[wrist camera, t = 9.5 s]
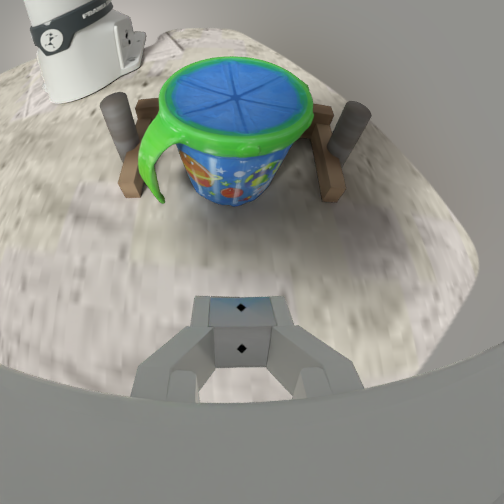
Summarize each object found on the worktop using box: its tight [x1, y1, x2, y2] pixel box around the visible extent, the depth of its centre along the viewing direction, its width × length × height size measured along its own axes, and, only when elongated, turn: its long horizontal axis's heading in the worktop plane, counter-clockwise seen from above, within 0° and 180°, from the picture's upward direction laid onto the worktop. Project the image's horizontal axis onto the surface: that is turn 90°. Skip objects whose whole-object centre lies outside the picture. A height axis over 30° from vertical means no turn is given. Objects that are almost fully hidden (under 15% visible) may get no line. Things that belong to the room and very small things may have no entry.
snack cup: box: [138, 57, 314, 206], centre depth 20 cm, size 16×10×10 cm
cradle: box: [100, 92, 371, 203], centre depth 22 cm, size 10×23×8 cm, turn 91°
